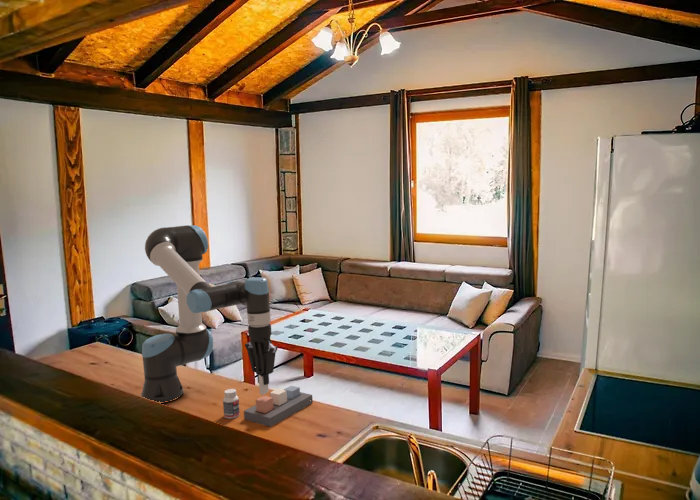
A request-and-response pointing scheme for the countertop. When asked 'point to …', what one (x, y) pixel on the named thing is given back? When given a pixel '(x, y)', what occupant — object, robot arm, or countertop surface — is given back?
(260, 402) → the terracotta key
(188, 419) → the countertop surface
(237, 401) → the pill bottle
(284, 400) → the white key
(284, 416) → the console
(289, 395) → the slate key
